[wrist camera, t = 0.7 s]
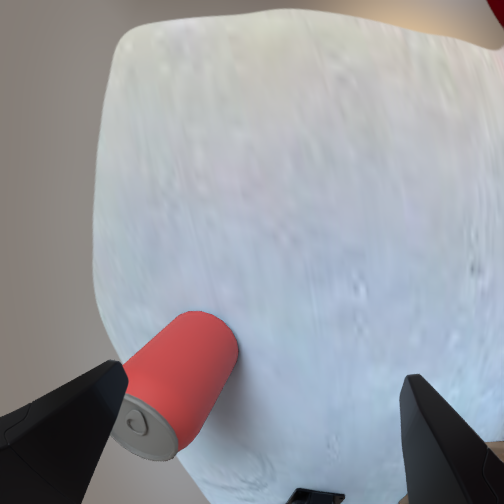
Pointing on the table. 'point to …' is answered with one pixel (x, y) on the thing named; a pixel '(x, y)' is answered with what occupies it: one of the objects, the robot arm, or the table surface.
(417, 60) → the table surface
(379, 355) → the table surface
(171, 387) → the beer can
